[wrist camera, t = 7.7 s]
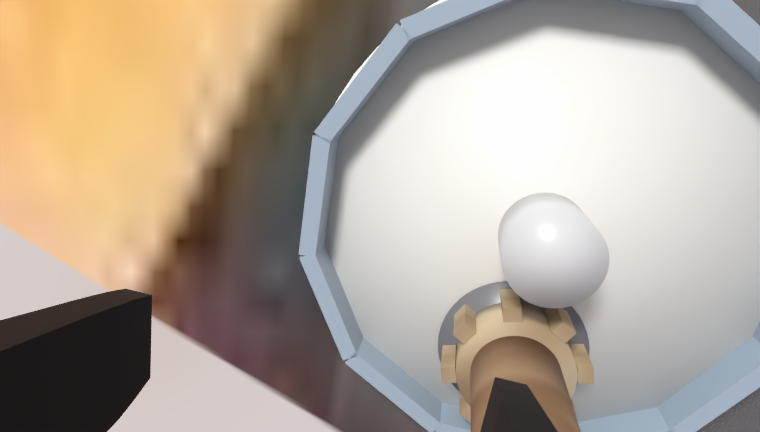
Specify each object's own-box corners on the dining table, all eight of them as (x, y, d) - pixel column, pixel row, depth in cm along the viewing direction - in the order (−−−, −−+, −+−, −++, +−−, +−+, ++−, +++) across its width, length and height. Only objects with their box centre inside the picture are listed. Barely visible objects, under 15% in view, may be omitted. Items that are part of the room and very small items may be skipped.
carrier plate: (931, 209, 16) (1057, 246, 12) (543, 494, 21) (557, 573, 18) (533, -154, 15) (551, -220, 11) (234, 240, 20) (188, 273, 17)
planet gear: (614, 351, 17) (684, 485, 12) (515, 433, 19) (535, 585, 13) (507, 262, 17) (526, 354, 12) (415, 352, 19) (393, 473, 13)
